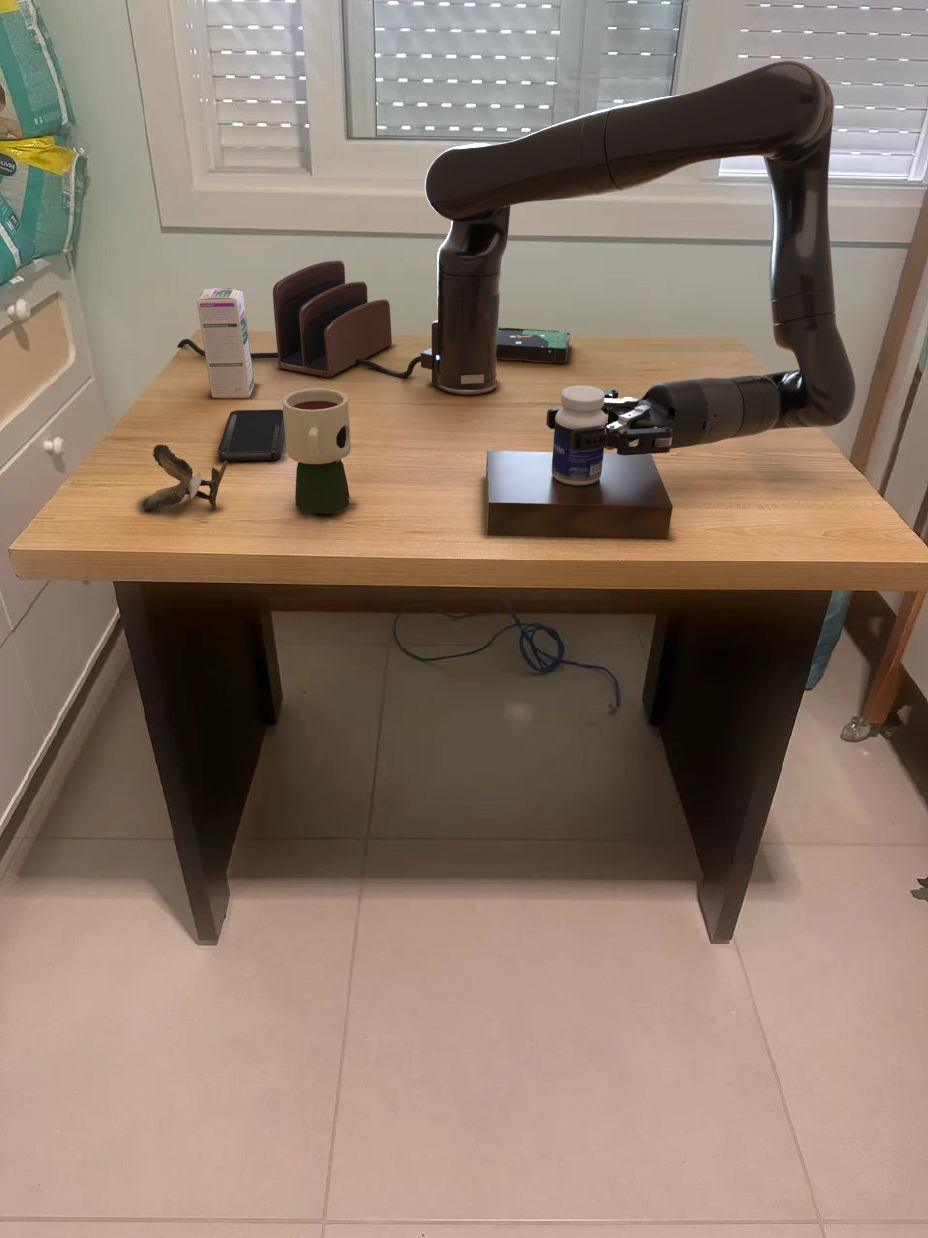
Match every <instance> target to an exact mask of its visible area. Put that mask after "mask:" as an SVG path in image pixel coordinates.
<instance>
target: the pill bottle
mask: <svg viewBox="0 0 928 1238" xmlns="http://www.w3.org/2000/svg"><path fill="white" fill-rule="evenodd" d="M603 391H604V390H602V389H601V388H598V387H597V386H596V387H595V386H592V385H582V384H581V385H572V386H568V387H565V388H564V389H563V390H562V391H561V395H560V396H561V397H560V404H561V406H562V407H563V408H561V409H560V410H559V411H558V412H557V414H556V417H555V429H553V431H554V432H553V445H552V452H553V457H552V475H553V477H554V478H555V479H557V480H558V481H560V482H562V483H565V484H569V485H577V486H582V485H589V484H592V483H594V482H596V481H597V480H598V479H599V478H600V476H601V472H602V463H603V453H605V451H604V450H605V448H604V446H603V447H599V448H591V449H584V450H574V449H573V448H571V446H570V441H571V432H572V431H573V430H574V429H579V428H586V427H594V426H604V427H605V429H606V424H607V423H608V422H607V420H608V418H607V414H604V412H603V411H602V410H601V408H602V407H603V406H604V398H605V394H604V392H603Z"/></svg>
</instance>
